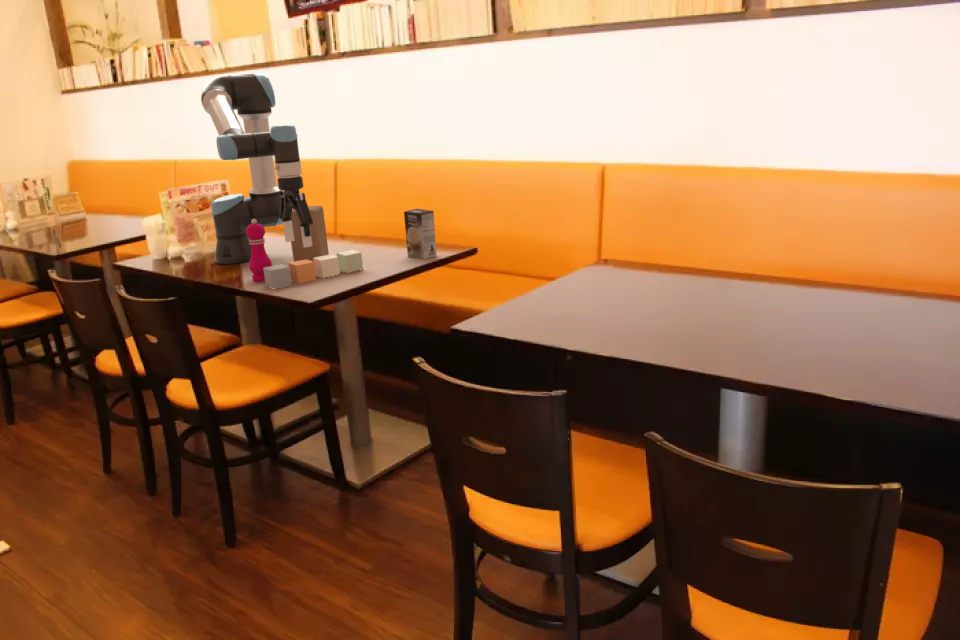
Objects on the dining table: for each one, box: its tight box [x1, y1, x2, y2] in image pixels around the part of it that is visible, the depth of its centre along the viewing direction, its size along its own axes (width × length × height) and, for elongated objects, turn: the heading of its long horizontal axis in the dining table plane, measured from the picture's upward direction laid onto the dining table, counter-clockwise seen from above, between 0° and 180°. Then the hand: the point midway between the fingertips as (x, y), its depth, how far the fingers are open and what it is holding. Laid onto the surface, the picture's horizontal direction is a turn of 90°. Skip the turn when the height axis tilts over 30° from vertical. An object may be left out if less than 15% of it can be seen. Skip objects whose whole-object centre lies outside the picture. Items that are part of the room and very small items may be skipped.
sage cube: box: [336, 249, 364, 274], centre depth 255 cm, size 6×6×6 cm
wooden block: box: [289, 205, 330, 262], centre depth 263 cm, size 10×10×20 cm
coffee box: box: [403, 208, 437, 260], centre depth 267 cm, size 9×6×16 cm
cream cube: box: [313, 254, 341, 279], centre depth 251 cm, size 6×6×6 cm
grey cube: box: [263, 263, 292, 290], centre depth 241 cm, size 6×6×6 cm
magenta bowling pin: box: [246, 219, 273, 283], centre depth 248 cm, size 7×7×20 cm
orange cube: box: [288, 259, 317, 284], centre depth 246 cm, size 6×6×6 cm
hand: (298, 244), depth 243 cm, fingers open, 13 cm apart
